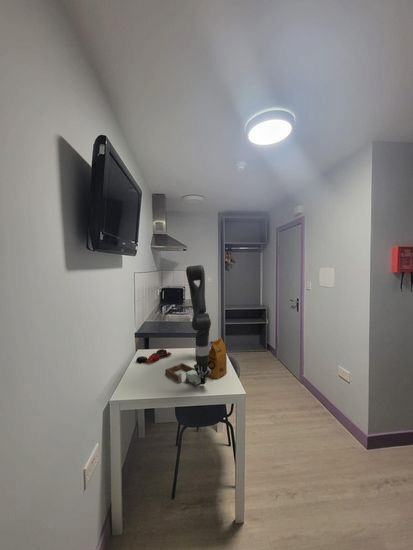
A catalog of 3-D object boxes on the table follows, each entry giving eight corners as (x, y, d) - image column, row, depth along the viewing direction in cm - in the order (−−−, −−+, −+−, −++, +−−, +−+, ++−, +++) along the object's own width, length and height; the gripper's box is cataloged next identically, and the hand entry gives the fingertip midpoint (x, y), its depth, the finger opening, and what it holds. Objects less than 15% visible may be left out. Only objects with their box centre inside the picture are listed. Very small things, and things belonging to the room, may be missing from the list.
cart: (204, 382, 134) (204, 373, 134) (195, 387, 129) (194, 378, 129) (193, 377, 141) (193, 369, 140) (184, 381, 136) (184, 373, 136)
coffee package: (204, 376, 143) (203, 340, 142) (216, 368, 152) (215, 335, 152) (217, 380, 136) (216, 343, 136) (229, 372, 146) (228, 338, 145)
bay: (182, 368, 154) (182, 360, 154) (198, 375, 144) (197, 367, 143) (165, 375, 145) (164, 367, 145) (179, 383, 134) (179, 375, 134)
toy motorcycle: (134, 364, 167) (147, 366, 156) (133, 356, 167) (146, 358, 156) (162, 354, 185) (175, 356, 175) (162, 348, 186) (175, 349, 175)
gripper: (215, 354, 127) (216, 385, 128) (199, 348, 137) (200, 377, 137) (205, 357, 122) (206, 390, 123) (189, 352, 132) (190, 382, 132)
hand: (203, 383), depth 130 cm, fingers closed
